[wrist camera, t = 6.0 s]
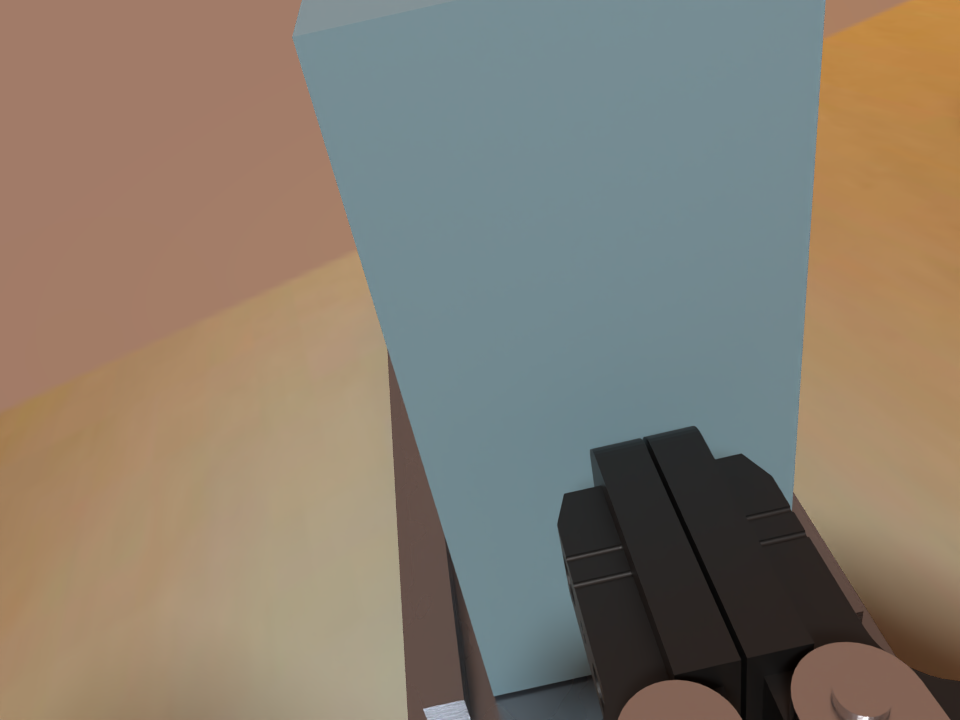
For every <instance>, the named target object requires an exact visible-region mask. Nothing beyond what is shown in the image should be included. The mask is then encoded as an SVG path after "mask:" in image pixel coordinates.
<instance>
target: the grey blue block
mask: <svg viewBox="0 0 960 720" xmlns="http://www.w3.org/2000/svg"><path fill="white" fill-rule="evenodd" d="M824 15H825V0H302V2H301V6H300V10H299V13H298V17H297V21H296V25H295V29H294V33H293V37H292V38H293V41H294V44H295V47H296V51H297V54H298V57H299V60H300V64H301V67H302V70H303V74H304V77H305V80H306V83H307V87H308V90H309V93H310V97H311V100H312V103H313V106H314V110H315V113H316V116H317V120H318V123H319V125H320V129H321V132H322V136H323V139H324V142H325V146H326V149H327V152H328V155H329V159H330V162H331V165H332V169H333V172H334V175H335V178H336V181H337V185H338V188H339V191H340V195H341V198H342V201H343V205H344V208H345V211H346V214H347V218H348V221H349V224H350V227H351V231H352V234H353V237H354V240H355V244H356V247H357V250H358V254H359V257H360V260H361V263H362V267H363V270H364V273H365V277H366V280H367V283H368V286H369V290H370V293H371V296H372V299H373V303H374V306H375V309H376V313H377V316H378V319H379V322H380V326H381V329H382V332H383V335H384V339H385V342H386V345H387V349H388V352H389V355H390V358H391V362H392V365H393V368H394V371H395V375H396V378H397V381H398V384H399V388H400V391H401V394H402V398H403V401H404V404H405V407H406V411H407V414H408V417H409V420H410V424H411V427H412V430H413V434H414V437H415V440H416V443H417V447H418V450H419V453H420V456H421V460H422V463H423V466H424V470H425V473H426V476H427V479H428V483H429V486H430V489H431V492H432V496H433V499H434V502H435V506H436V509H437V512H438V515H439V519H440V522H441V525H442V528H443V532H444V535H445V538H446V541H447V545H448V548H449V551H450V555H451V558H452V561H453V564H454V568H455V571H456V574H457V577H458V581H459V584H460V587H461V591H462V594H463V597H464V600H465V604H466V607H467V610H468V613H469V617H470V620H471V623H472V627H473V630H474V633H475V636H476V640H477V643H478V646H479V649H480V653H481V656H482V659H483V663H484V666H485V669H486V672H487V676H488V679H489V682H490V685H491V689H492V692H493V695H494V696H498V695H502V694H507V693H511V692H516V691H520V690H525V689H529V688H534V687H538V686H543V685H547V684H552V683H556V682H561V681H565V680H570V679H574V678H579V677H583V676H588V675H592V674H591V670H590V667H589V663H588V659H587V655H586V651H585V648H584V644H583V641H582V637H581V633H580V629H579V625H578V622H577V618H576V615H575V611H574V607H573V603H572V600H571V596H570V592H569V587H568V581H567V576H566V571H565V565H564V560H563V554H562V549H561V544H560V538H559V533H558V528H557V522H558V518H559V513H560V509H561V505H562V500H563V496H564V494H565V493H569V492H574V491H578V490H583V489H587V488H591V487H594V481H593V474H592V466H591V459H590V449H593V448H598V447H602V446H607V445H611V444H616V443H620V442H624V441H629V440H633V439H638V438H641V439H642V440H643V437H646V436H650V435H654V434H659V433H663V432H668V431H672V430H677V429H681V428H685V427H690V426H696V427H697V428H698V430H699V431H700V433H701V434H702V436H703V438H704V440H705V442H706V444H707V445H708V447H709V449H710V451H711V453H712V455H713V457H714V458H715V459H719V458H723V457H728V456H732V455H737V454H741V453H742V454H743V455H744V456H746V457H747V458H749V459H750V460H751V461H753V462H754V463H755V464H757V465H758V466H759V467H761V468H762V469H763V470H765V471H766V472H767V473H769V474H770V475H772V477H773V478H774V480H775V482H776V483H777V485H778V487H779V488H780V490H781V491H782V493H783V495H784V496H785V498H786V500H787V501H788V503H789V505H790V508H791V511H792V501H793V486H794V470H795V455H796V440H797V425H798V410H799V394H800V379H801V364H802V349H803V334H804V318H805V303H806V288H807V273H808V258H809V242H810V227H811V212H812V197H813V182H814V167H815V151H816V136H817V121H818V106H819V91H820V75H821V60H822V45H823V30H824Z"/></svg>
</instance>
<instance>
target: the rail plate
mask: <svg viewBox="0 0 960 720" xmlns="http://www.w3.org/2000/svg"><path fill="white" fill-rule="evenodd" d="M387 350H388V349H387ZM388 367H389V385H390V403H391V421H392V439H393V457H394V475H395V493H396V511H397V528H398V546H399V564H400V582H401V600H402V618H403V636H404V654H405V672H406V689H407V707H408V720H603V715H602V711H601V707H600V704H599V700H598V696H597V693H596V689H595V685H594V681H593V678H592V675H588V676H583V677H579V678H574V679H570V680H565V681H561V682H556V683H552V684H547V685H543V686H538V687H534V688H529V689H525V690H520V691H516V692H511V693H507V694H502V695H498V696H494V695H493V692H492V689H491V685H490V682H489V679H488V676H487V672H486V669H485V666H484V663H483V659H482V656H481V653H480V649H479V646H478V643H477V640H476V636H475V633H474V630H473V627H472V623H471V620H470V617H469V613H468V610H467V607H466V604H465V600H464V597H463V594H462V591H461V587H460V584H459V581H458V577H457V574H456V571H455V568H454V564H453V561H452V558H451V555H450V551H449V548H448V545H447V541H446V538H445V535H444V532H443V528H442V525H441V522H440V519H439V515H438V512H437V509H436V506H435V502H434V499H433V496H432V492H431V489H430V486H429V483H428V479H427V476H426V473H425V470H424V466H423V463H422V460H421V456H420V453H419V450H418V447H417V443H416V440H415V437H414V434H413V430H412V427H411V424H410V420H409V417H408V414H407V411H406V407H405V404H404V401H403V398H402V394H401V391H400V388H399V384H398V381H397V378H396V375H395V371H394V368H393V365H392V362H391V358H390V355H389V352H388ZM792 512H794V513H795V514H796V516H797V518H798V519H799V521H800V523H801V524H802V526H803V528H804V529H805V533H806V536H807V537H810V539H811V541H812V542H813V544H814V546H815V547H816V549H817V550H818V552H819V554H820V555H821V557H822V559H823V560H824V562H825V564H826V565H827V567H828V569H829V570H830V572H831V573H832V575H833V577H834V578H835V580H836V582H837V583H838V585H839V587H840V588H841V590H842V591H843V593H844V595H845V596H846V598H847V600H848V601H849V603H850V605H851V606H852V608H853V610H854V611H855V613H856V614H857V616H858V618H859V619H860V621H861V623H862V624H863V626H864V628H865V629H866V630H867V632H868V633H869V635H870V636H871V637H872V639H873V640H874V641H875V642H876V643H877V644H878V645H879V646H880V647H881V648H882V649H883V650H885V651H886V652H887V653H889V654H891V655H893V656H895V654H894V653H893V651H892V649H891V648H890V646H889V645H888V643H887V641H886V640H885V638H884V637H883V635H882V633H881V632H880V630H879V629H878V627H877V625H876V624H875V622H874V621H873V619H872V617H871V616H870V614H869V613H868V611H867V609H866V608H865V606H864V605H863V603H862V601H861V600H860V598H859V597H858V595H857V593H856V592H855V590H854V589H853V587H852V585H851V584H850V582H849V581H848V579H847V577H846V576H845V574H844V573H843V571H842V569H841V568H840V566H839V565H838V563H837V561H836V560H835V558H834V557H833V555H832V553H831V552H830V550H829V549H828V547H827V546H826V544H825V542H824V541H823V539H822V538H821V536H820V534H819V533H818V531H817V530H816V528H815V526H814V525H813V523H812V522H811V520H810V518H809V517H808V515H807V514H806V512H805V510H804V509H803V507H802V506H801V504H800V502H799V501H798V499H797V498H796V496H795V494H794V493H793V501H792ZM895 657H896V656H895ZM896 658H897V657H896Z"/></svg>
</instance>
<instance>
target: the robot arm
mask: <svg viewBox="0 0 960 720" xmlns="http://www.w3.org/2000/svg"><path fill="white" fill-rule="evenodd" d="M590 459H591V466H592V474H593V481H594V487H591V488H587V489H583V490H578V491H574V492H569V493H565V494H564V496H563V500H562V505H561V509H560V513H559V518H558V522H557V528H558V533H559V538H560V544H561V549H562V554H563V560H564V565H565V571H566V576H567V581H568V587H569V592H570V596H571V600H572V603H573V607H574V611H575V615H576V618H577V622H578V625H579V629H580V633H581V637H582V641H583V644H584V648H585V651H586V655H587V659H588V663H589V667H590V670H591V674H592V678H593V681H594V685H595V689H596V693H597V696H598V700H599V704H600V707H601V711H602V715H603V720H960V681H954V680H947V679H942V678H938V677H934V676H930V675H927V674H925V673H922V672H919V671H917V670H914V669H913V668H911V667H909V666H907V665H906V664H905V663H904V662H902V661H901V660H899V659H898V658H896V657H895V656H893V655H891V654H889V653H887V652H886V651H885V650H883V649H882V648H881V647H880V646H879V645H878V644H877V643H876V642H875V641H874V640H873V639H872V637H871V636H870V635H869V633H868V632H867V630H866V629H865V628H864V626H863V624H862V623H861V621H860V619H859V618H858V616H857V614H856V613H855V611H854V610H853V608H852V606H851V605H850V603H849V601H848V600H847V598H846V596H845V595H844V593H843V591H842V590H841V588H840V587H839V585H838V583H837V582H836V580H835V578H834V577H833V575H832V573H831V572H830V570H829V569H828V567H827V565H826V564H825V562H824V560H823V559H822V557H821V555H820V554H819V552H818V550H817V549H816V547H815V546H814V544H813V542H812V541H811V539H810V537H807V536H806V533H805V529H804V528H803V526H802V524H801V523H800V521H799V519H798V518H797V516H796V514H795V513H794V512H792V511H791V508H790V505H789V503H788V501H787V500H786V498H785V496H784V495H783V493H782V491H781V490H780V488H779V487H778V485H777V483H776V482H775V480H774V478H773V477H772V475H770V474H769V473H767V472H766V471H765V470H763V469H762V468H761V467H759V466H758V465H757V464H755V463H754V462H753V461H751V460H750V459H749V458H747V457H746V456H744V455H743V454H742V453H741V454H737V455H732V456H728V457H723V458H719V459H715V458H714V457H713V455H712V453H711V451H710V449H709V447H708V445H707V444H706V442H705V440H704V438H703V436H702V434H701V433H700V431H699V430H698V428H697V427H696V426H690V427H685V428H681V429H677V430H672V431H668V432H663V433H659V434H654V435H650V436H646V437H643V440H642V439H641V438H638V439H633V440H629V441H624V442H620V443H616V444H611V445H607V446H602V447H598V448H593V449H590Z"/></svg>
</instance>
